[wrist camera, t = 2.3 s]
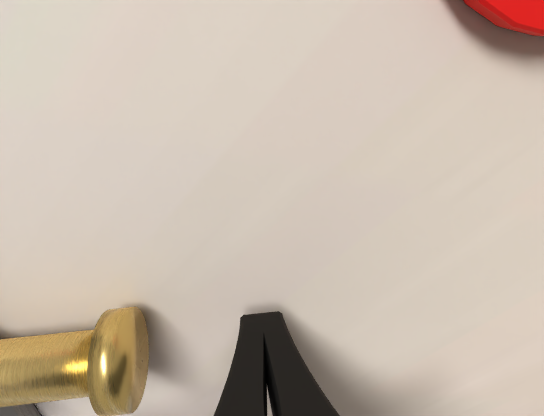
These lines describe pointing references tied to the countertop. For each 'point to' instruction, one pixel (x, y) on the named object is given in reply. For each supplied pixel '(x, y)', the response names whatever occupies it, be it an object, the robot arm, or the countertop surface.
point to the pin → (80, 365)
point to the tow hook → (513, 14)
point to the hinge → (19, 410)
